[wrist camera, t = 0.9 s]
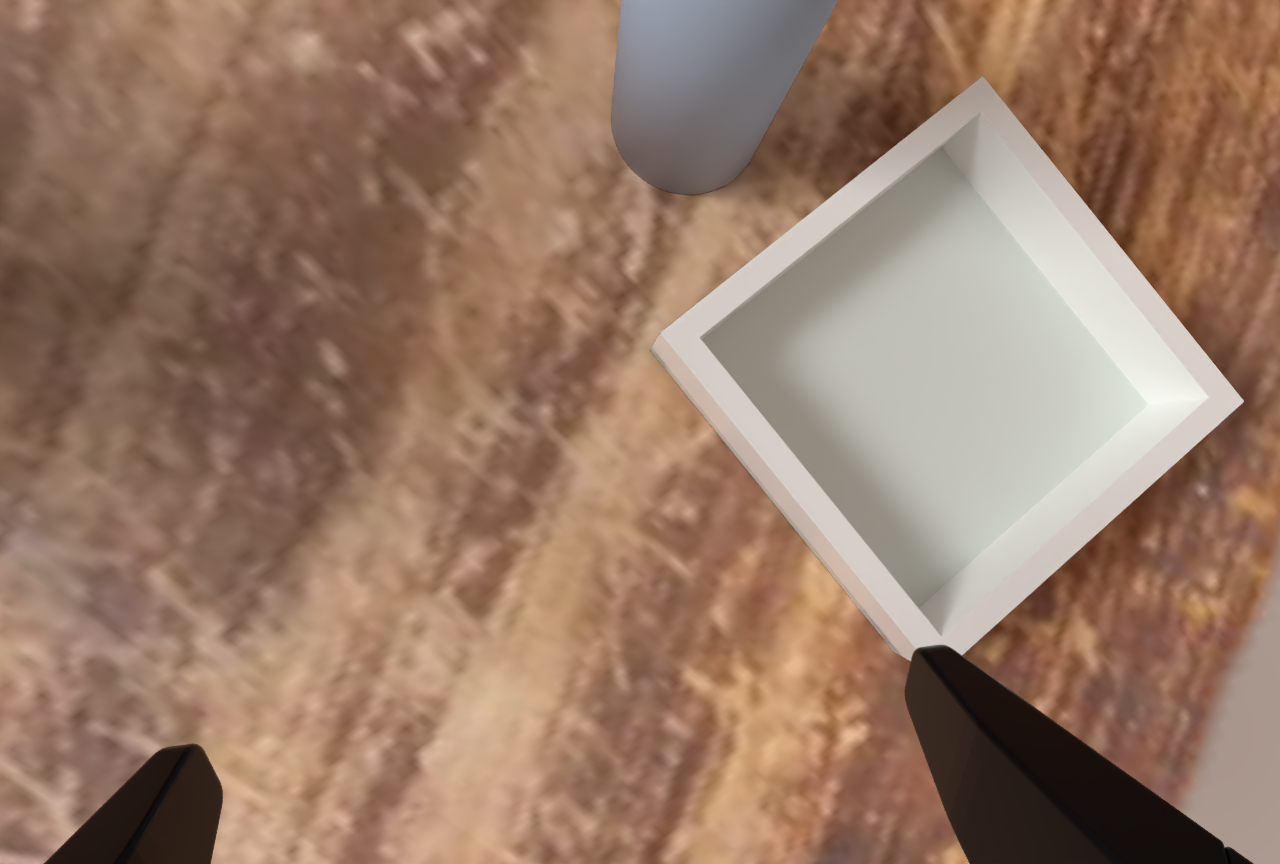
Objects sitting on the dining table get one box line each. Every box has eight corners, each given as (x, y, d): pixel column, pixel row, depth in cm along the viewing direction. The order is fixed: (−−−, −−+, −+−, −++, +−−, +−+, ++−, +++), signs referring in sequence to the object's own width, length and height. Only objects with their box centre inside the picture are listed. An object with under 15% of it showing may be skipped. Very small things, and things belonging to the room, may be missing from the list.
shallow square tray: (1166, 410, 25) (1244, 401, 22) (893, 651, 24) (938, 676, 21) (935, 122, 25) (982, 76, 22) (650, 350, 24) (660, 332, 21)
